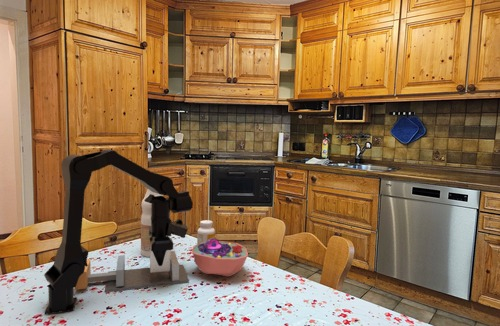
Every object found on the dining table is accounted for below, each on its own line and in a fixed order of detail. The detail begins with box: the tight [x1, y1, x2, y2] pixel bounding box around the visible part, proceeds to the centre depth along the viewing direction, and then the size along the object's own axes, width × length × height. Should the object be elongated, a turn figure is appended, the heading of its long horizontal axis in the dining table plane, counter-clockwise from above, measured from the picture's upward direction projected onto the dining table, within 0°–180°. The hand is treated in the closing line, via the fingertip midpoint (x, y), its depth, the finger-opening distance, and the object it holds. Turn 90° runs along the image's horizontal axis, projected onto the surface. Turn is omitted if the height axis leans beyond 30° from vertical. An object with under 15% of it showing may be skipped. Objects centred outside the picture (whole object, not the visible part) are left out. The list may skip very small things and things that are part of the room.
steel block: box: [149, 247, 172, 273], centre depth 106 cm, size 4×6×7 cm, turn 109°
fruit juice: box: [140, 188, 164, 258], centre depth 126 cm, size 9×9×28 cm
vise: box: [104, 250, 190, 293], centre depth 105 cm, size 13×24×6 cm, turn 109°
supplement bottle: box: [196, 219, 216, 245], centre depth 127 cm, size 7×7×13 cm
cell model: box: [191, 237, 249, 277], centre depth 110 cm, size 17×20×11 cm
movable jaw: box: [74, 255, 126, 291], centre depth 100 cm, size 12×13×5 cm
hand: (159, 263), depth 106 cm, fingers closed on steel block, 4 cm apart
